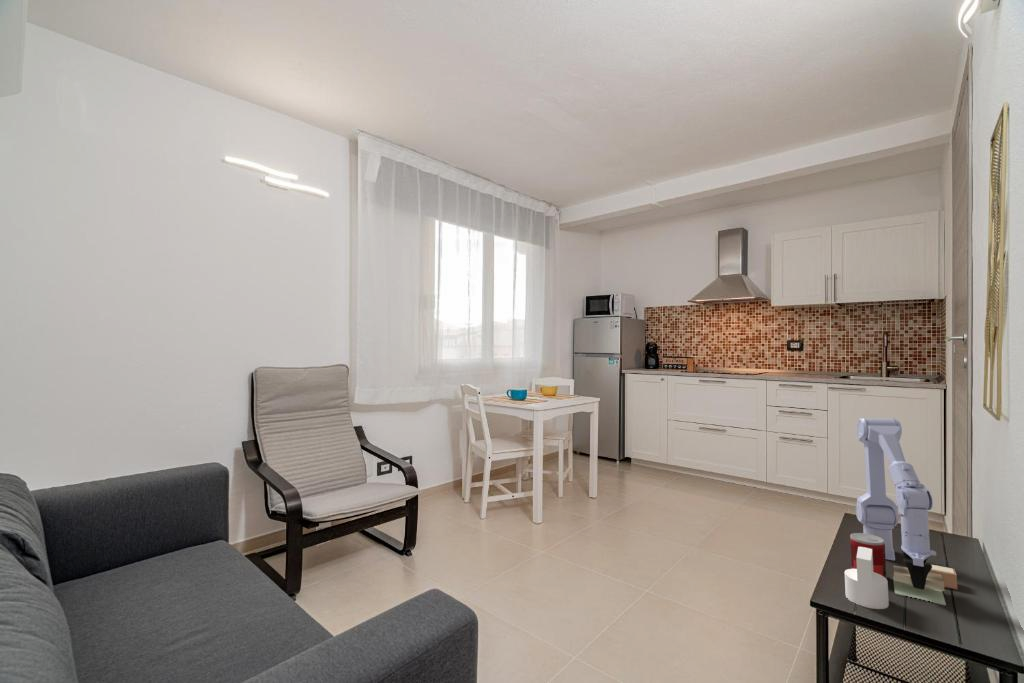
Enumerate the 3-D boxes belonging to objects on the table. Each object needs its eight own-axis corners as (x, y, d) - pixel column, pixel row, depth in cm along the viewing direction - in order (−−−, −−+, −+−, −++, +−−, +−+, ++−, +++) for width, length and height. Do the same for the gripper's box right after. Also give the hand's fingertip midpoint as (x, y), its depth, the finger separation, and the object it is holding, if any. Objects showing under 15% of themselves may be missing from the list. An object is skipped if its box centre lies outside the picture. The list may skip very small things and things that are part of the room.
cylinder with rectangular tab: (846, 587, 128) (844, 543, 129) (888, 597, 122) (886, 551, 123) (844, 601, 121) (841, 554, 122) (888, 613, 116) (886, 563, 116)
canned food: (892, 583, 130) (890, 543, 130) (860, 581, 131) (858, 542, 132) (877, 571, 137) (875, 533, 138) (846, 569, 139) (844, 532, 139)
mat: (893, 577, 133) (893, 576, 133) (940, 587, 127) (940, 586, 127) (894, 594, 124) (894, 592, 124) (945, 605, 118) (945, 604, 118)
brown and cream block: (912, 574, 135) (911, 560, 135) (954, 583, 129) (954, 568, 129) (913, 580, 131) (912, 566, 131) (957, 589, 126) (956, 574, 126)
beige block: (893, 572, 131) (893, 565, 131) (941, 582, 125) (941, 574, 125) (894, 580, 126) (894, 573, 126) (944, 591, 120) (944, 583, 120)
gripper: (938, 544, 118) (941, 599, 117) (931, 527, 129) (934, 576, 129) (901, 538, 122) (904, 591, 122) (898, 522, 134) (901, 570, 133)
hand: (917, 583), depth 126 cm, fingers closed on beige block, 6 cm apart
